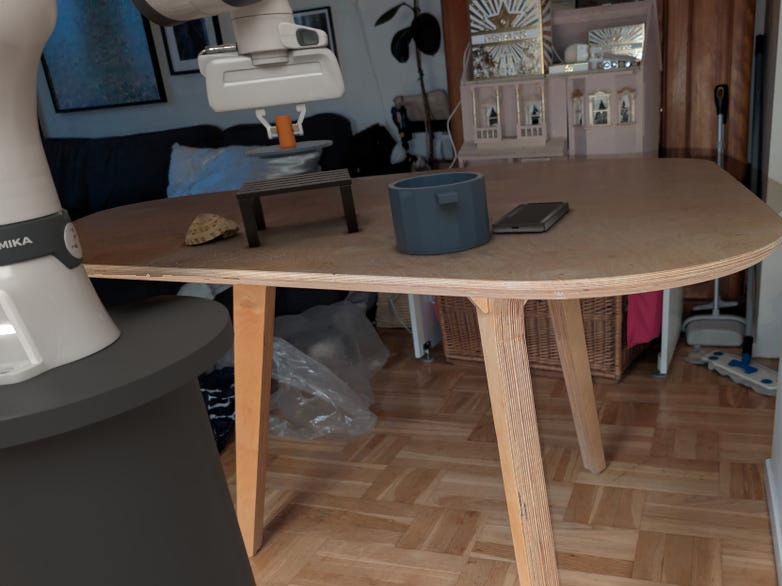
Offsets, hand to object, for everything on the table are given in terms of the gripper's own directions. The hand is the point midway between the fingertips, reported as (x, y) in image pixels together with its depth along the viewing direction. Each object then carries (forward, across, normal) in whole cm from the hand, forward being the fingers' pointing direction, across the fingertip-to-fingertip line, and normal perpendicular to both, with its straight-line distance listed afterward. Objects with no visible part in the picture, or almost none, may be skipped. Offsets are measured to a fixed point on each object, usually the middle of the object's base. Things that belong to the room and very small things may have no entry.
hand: (286, 137), depth 109 cm
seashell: (+15, -15, +4) cm, 21 cm away
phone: (+15, +33, -19) cm, 41 cm away
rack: (+15, 0, 0) cm, 15 cm away
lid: (+2, 0, 0) cm, 2 cm away
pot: (+15, +19, -24) cm, 34 cm away
